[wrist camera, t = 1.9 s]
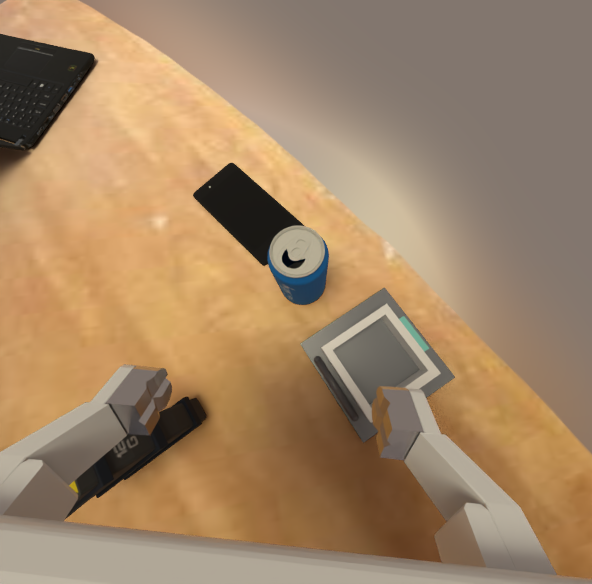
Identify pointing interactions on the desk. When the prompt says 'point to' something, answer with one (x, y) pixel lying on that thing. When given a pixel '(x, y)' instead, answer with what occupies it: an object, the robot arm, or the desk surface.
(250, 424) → the desk surface
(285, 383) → the desk surface
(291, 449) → the desk surface
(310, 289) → the beverage can
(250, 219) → the cell phone
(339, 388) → the charging dock
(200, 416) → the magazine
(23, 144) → the laptop
